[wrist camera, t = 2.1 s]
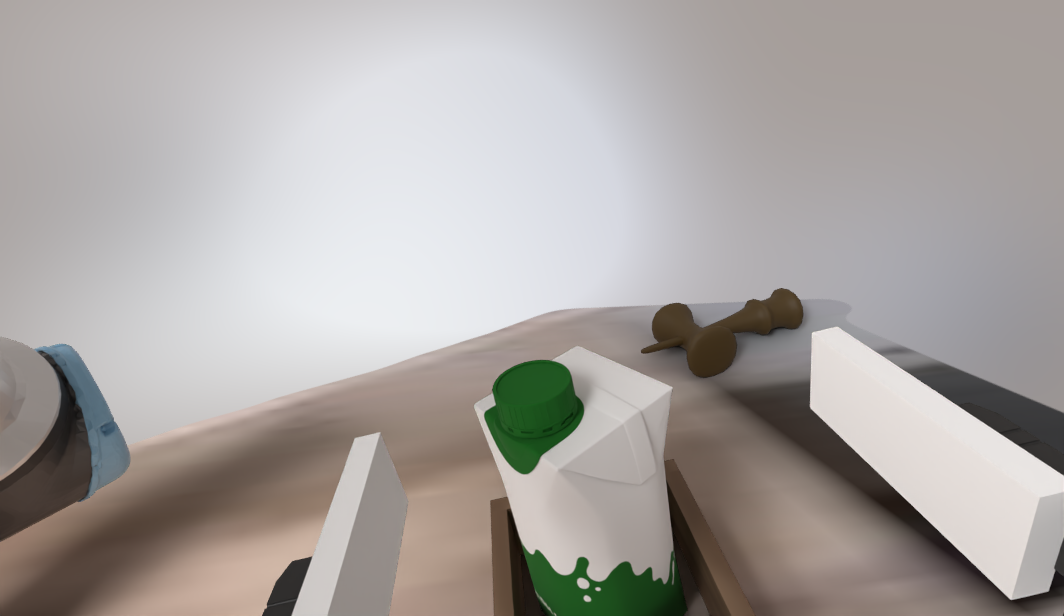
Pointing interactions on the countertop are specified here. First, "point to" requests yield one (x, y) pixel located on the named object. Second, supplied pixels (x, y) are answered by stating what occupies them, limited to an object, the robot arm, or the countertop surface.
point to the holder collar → (688, 526)
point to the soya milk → (587, 483)
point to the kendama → (721, 330)
